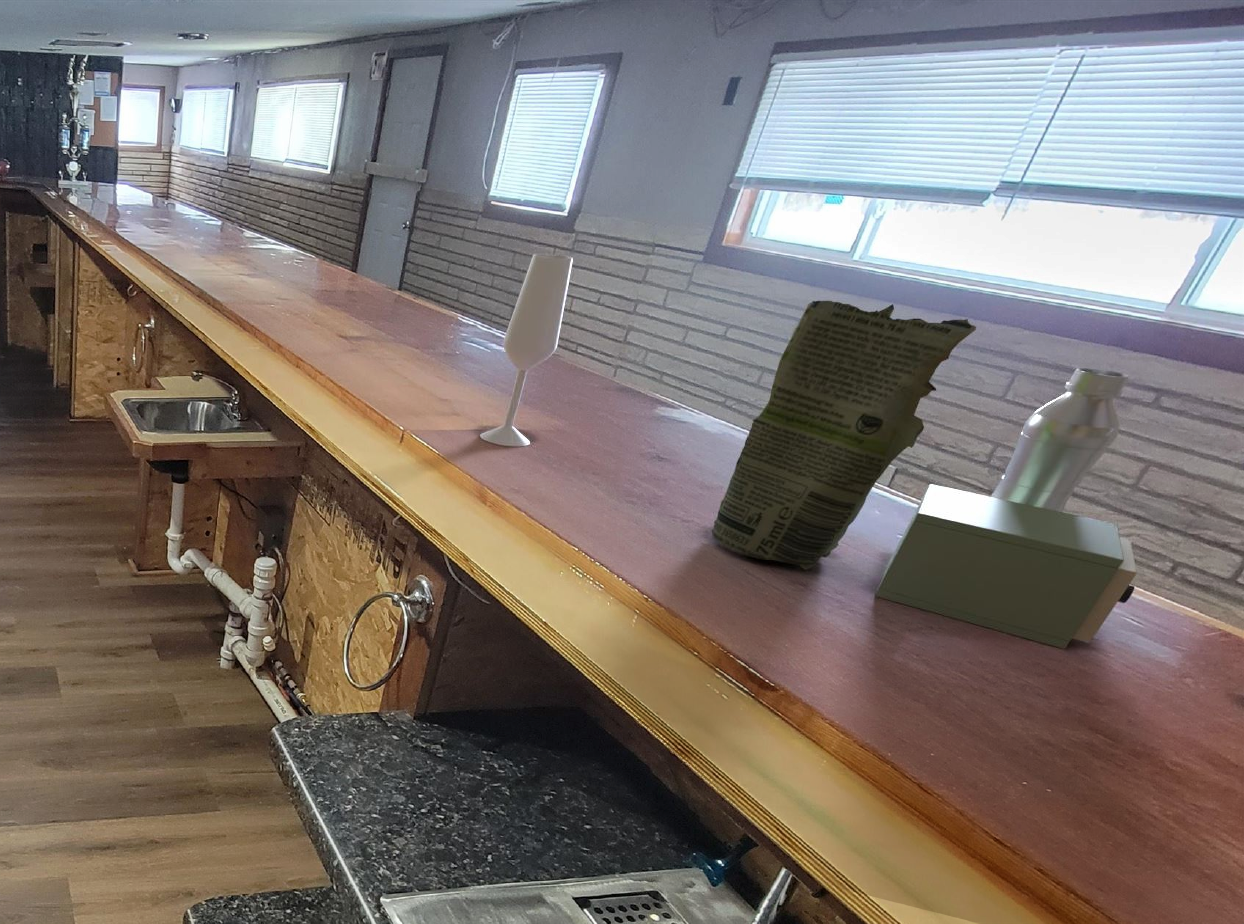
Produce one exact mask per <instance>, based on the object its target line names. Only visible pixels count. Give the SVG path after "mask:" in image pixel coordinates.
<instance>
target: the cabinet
mask: <svg viewBox="0 0 1244 924" xmlns="http://www.w3.org/2000/svg"><path fill="white" fill-rule="evenodd" d="M1120 537H1121V536H1120V530H1119V525H1118V523H1114V522H1110V521H1106V520H1100V519H1096V518H1093V517H1086V516H1082V515H1077V514H1073V513H1068V512H1064V511H1062V512H1059V511H1054V510H1050V509H1045V508H1040V507H1036V506H1031V505H1026V504H1022V503H1017V502H1012V501H1007V500H1003V499H998V498H993V497H990V496H988V495H985V494H980V493H979V494H978V493H975V492H971V491H965V490H961V489H955V488H951V487H946V486H942V485H938V484H937V485H936V484H932V483H929V485H928V487H927V489H926V491H925V493H924V494H923V496H922V498H921V500H920V502H919V504H918V506H917V508H916V509H915V511H914V513H913V515H912V517H911V519H910V521H909V523H908V524H907V527H906V528H905V531H904V533H903V534H902V537H901V538H900V540H899V542H898V544H897V546H896V548H895V549H894V552H893V554H892V555H891V557H890V559H889V561H888V563H887V566H886V568H885V570H884V572H883V575H882V578H881V580H880V582H879V585H878V587H877V589H876V591H875V594H874V596H875V597H877V598H880V599H884V600H887V601H891V602H895V603H898V604H901V605H906V606H909V607H913V608H915V609H919V610H923V611H927V612H930V613H934V614H938V615H942V616H944V617H948V618H952V619H956V620H958V621H962V622H965V623H970V624H974V625H977V626H980V627H984V628H987V629H991V630H994V631H998V632H1001V633H1005V634H1009V635H1013V636H1016V637H1019V638H1023V639H1027V640H1030V641H1034V642H1037V643H1041V644H1045V645H1048V646H1051V647H1056V648H1059V649H1063V650H1065V649H1066V648H1067V647H1068V645H1069V644H1070V642H1071V641H1072V638H1073V636H1074V635H1075V633H1076V632H1077V630H1078V629H1079V627H1080V626H1081V624H1082V623H1083V621H1084V620H1085V618H1086V617H1087V615H1088V614H1089V612H1090V611H1091V609H1092V608H1093V606H1094V605H1095V603H1096V602H1097V600H1098V599H1099V597H1100V596H1101V594H1102V593H1103V591H1104V590H1105V588H1106V587H1107V585H1108V584H1109V582H1110V581H1111V579H1112V578H1113V576H1114V575H1115V573H1116V572H1117V570H1118V568H1119V567H1120V566H1121V564H1122V563H1123V561H1124V559H1123V553H1122V547H1121V542H1120Z"/></svg>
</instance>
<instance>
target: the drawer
mask: <svg viewBox="0 0 1244 924" xmlns="http://www.w3.org/2000/svg"><path fill="white" fill-rule="evenodd" d="M1120 542H1121V547H1122V553H1123V559H1124V561H1123V563H1122V564H1121V566H1120V567H1119V568H1118V570H1117V572H1116V573H1115V575H1114V576H1113V578H1112V579H1111V581H1110V582H1109V584H1108V585H1107V587H1106V588H1105V590H1104V591H1103V593H1102V594H1101V596H1100V597H1099V599H1098V600H1097V602H1096V603H1095V605H1094V606H1093V608H1092V609H1091V611H1090V612H1089V614H1088V615H1087V617H1086V618H1085V620H1084V621H1083V623H1082V624H1081V626H1080V627H1079V629H1078V630H1077V632H1076V633H1075V635H1074V636H1073V638H1072V639H1073V640H1076V641H1080V642H1083V643H1088V644H1089V643H1091V641H1092V640H1093V639H1094V637H1095V636H1096V634H1097V633H1098V632H1099V630H1100V628H1101V627H1102V626H1103V624H1104V623H1105V621H1106V620H1107V618H1108V617H1109V615H1110V614H1111V612H1112V610H1113V609H1114V608H1115V606H1116V605H1117V604H1118V603H1121V604H1125V603H1127V601H1128V600H1129V599H1130V598H1131V596H1132V595H1133V593H1134V591H1135V585H1132V584H1131V583H1132V581H1133V580H1134V578H1135V577H1136V575H1137V574H1138V572H1137V565H1136V561H1135V560H1136V559H1135V555H1134V551H1133V546H1132V545H1133V544H1132V541H1131V538H1128V537H1123V536H1120ZM1072 639H1071V640H1072Z"/></svg>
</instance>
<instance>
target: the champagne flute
mask: <svg viewBox="0 0 1244 924" xmlns="http://www.w3.org/2000/svg"><path fill="white" fill-rule="evenodd" d="M573 259H574V258H573V256H569V255H561V254H551V253H535V254H532V257H531V260H530V262H529V266H528V269H527V272H526V275H525V277H524V281H523V284H522V285H521V288H520V291H519V295H518V298H517V300H516V304H515V306H514V308H513V312H512V315H511V318H510V319H509V320H510V321H509V324H508V326H507V329H506V332H505V335H504V337H503V341H502V344H503V349H504V351H505V354H506V356H507V357H508V359H509V360H510V362H511V363H512V365H513V366H514V367H515V368H516V369H518V370H517V374H516V377H515V381H514V385H513V389H512V392H511V396H510V400H509V404H508V408H507V412H506V415H505V419H504V423H503V424H502V425H500V426H498V427H495V428H493V429H490V430H488V431H485V432H482V433H480V435H479V437H480V438H481V439H482V440H484V441H486V442H488V443H491V444H495V445H498V446H503V447H504V446H505V447H526V446H528V445H530V444H531V442H530V440H529V439H528V438H527V437H525V436H524V435H523V434H522V433H521V432H520V431H519V430H517V428H515V427H514V423H515V419H516V416H517V411H518V408H519V405H520V401H521V397H522V393H523V390H524V387H525V386H524V385H525V381H526V378H527V374H528V371H529V370H533V369H535V368H536V367H537V366H539V365H541V364H542V363H543V362H545V361H547V360H548V359H549V358H550V357H552V355H553V354H554V353H555V352H556V350H557V348H558V342H559V337H560V332H561V328H562V327H561V326H562V320H563V315H564V311H565V310H564V309H565V304H566V299H567V293H568V287H569V282H570V276H571V271H572V266H573V261H574V260H573Z"/></svg>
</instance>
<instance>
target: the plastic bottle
mask: <svg viewBox="0 0 1244 924" xmlns="http://www.w3.org/2000/svg"><path fill="white" fill-rule="evenodd" d="M1129 378H1130V375H1128V374H1126V373H1122V372H1117V371H1112V370H1106V369H1099V368H1092V367H1091V368H1089V367H1078V368H1076V369H1075V370H1074V372H1073V374H1072V375H1071V377H1070V379H1069V381H1067V382H1066V384H1065V385H1064V389H1065V390H1066V391H1065V393H1064V394H1062V395H1061V396H1059V397H1057V398H1056V399H1053V400H1052V401H1050V402H1048V403H1046V404H1045V405H1044V406H1042V407H1040V408H1038V409H1037V410H1036V411H1035V412H1033V414H1031V416H1030V417H1028V419H1027V420H1026V421H1025V423H1024V425H1023V427H1022V432H1020V435H1019V438H1018V440H1017V443H1016V445H1015V448H1014V451H1013V454H1012V457H1011V459H1010V461H1009V463H1008V465H1007V466H1006V469H1005V471H1004V475H1002V477H1001V478H1000V481H999V483H998V484H997V486H996V488H995V489H994V491H993V492H992V493H991V495H990V496H989V497H993V498H998V499H1003V500H1007V501H1012V502H1017V503H1022V504H1026V505H1031V506H1036V507H1040V508H1045V509H1050V510H1054V511H1059V512H1064V508H1065V507H1066V505H1067V503H1068V501H1069V499H1070V498H1071V497H1072V495H1073V493H1074V492H1075V489H1077V488H1078V486H1079V485H1080V484H1081V482H1082V481H1083V480H1084V478H1085V477H1086V475H1087V474H1088V472H1089V471H1090V470H1091V469H1092V468H1093V467H1094V465H1096V463H1097V462H1098V461H1099V460H1100V459H1101V457H1102V456H1103V455H1104V454H1105V453H1106V452H1107V450H1108V449H1109V447H1110V446H1112V444H1113V442H1115V440H1116V439H1117V437H1118V436H1119V431H1120V422H1119V421H1120V420H1119V418H1118V414H1117V413H1118V412H1117V410H1116V408H1115V405H1114V400H1115V398H1118V397H1119V398H1120V397H1121V395H1122V394H1123V391H1124V390H1123V389H1124V387H1125V386H1126V384H1127V382H1128V381H1129Z"/></svg>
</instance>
